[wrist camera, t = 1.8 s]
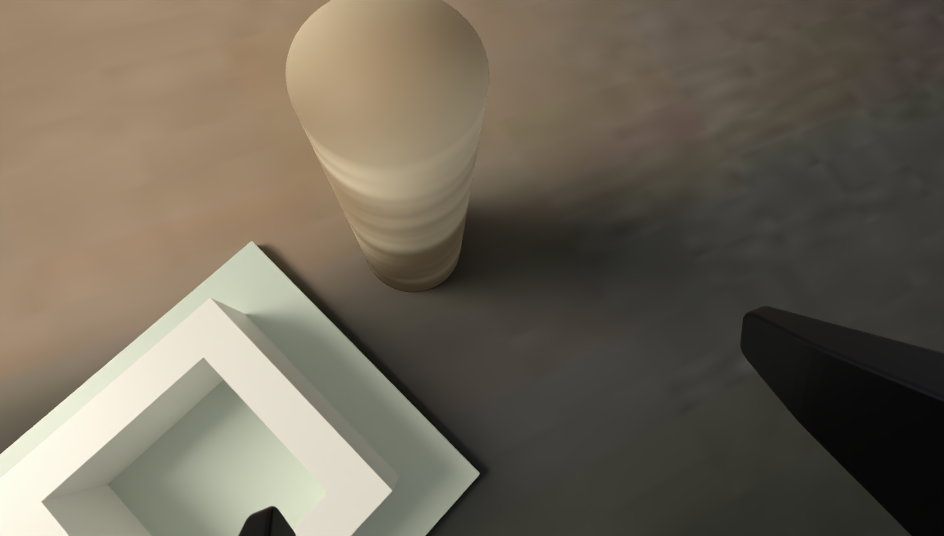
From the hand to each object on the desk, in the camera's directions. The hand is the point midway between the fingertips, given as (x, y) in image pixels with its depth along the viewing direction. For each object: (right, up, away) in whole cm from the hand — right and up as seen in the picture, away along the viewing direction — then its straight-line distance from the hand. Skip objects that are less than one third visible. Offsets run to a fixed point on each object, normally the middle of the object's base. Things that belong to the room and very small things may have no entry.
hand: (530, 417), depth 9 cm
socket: (-11, -6, +12) cm, 17 cm away
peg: (-4, +4, +15) cm, 16 cm away
